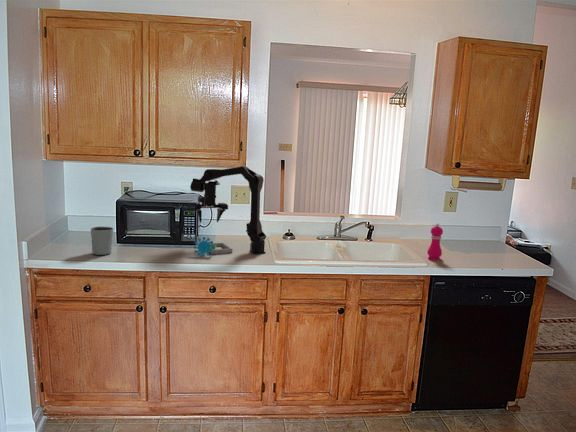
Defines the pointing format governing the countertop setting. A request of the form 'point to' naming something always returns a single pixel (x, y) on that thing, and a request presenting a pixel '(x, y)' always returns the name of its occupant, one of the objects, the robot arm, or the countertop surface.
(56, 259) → the countertop surface
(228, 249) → the tray
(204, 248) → the gear
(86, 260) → the countertop surface
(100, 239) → the grey cup
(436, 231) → the pepper mill
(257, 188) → the robot arm
